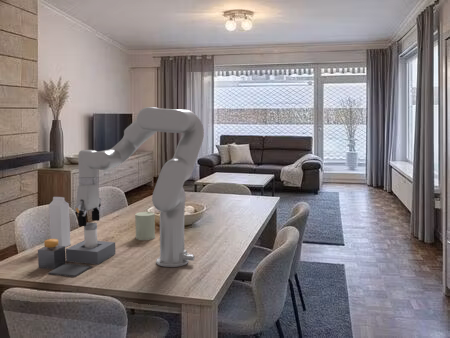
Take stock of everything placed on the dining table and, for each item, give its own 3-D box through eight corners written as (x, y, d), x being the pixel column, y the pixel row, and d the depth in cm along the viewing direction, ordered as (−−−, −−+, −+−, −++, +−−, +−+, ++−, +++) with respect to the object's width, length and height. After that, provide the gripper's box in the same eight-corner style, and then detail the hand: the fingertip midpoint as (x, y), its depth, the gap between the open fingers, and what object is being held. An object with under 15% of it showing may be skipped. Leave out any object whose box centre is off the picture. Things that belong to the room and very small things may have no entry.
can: (159, 237, 217) (158, 212, 216) (145, 241, 210) (144, 215, 208) (145, 234, 223) (145, 209, 221) (131, 238, 215) (130, 213, 214)
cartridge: (100, 256, 187) (99, 222, 186) (93, 260, 183) (92, 225, 181) (89, 255, 189) (88, 222, 187) (82, 258, 184) (81, 224, 182)
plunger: (61, 260, 177) (60, 239, 176) (53, 264, 172) (52, 242, 171) (50, 259, 178) (49, 238, 177) (42, 263, 174) (41, 241, 173)
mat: (91, 267, 174) (91, 265, 174) (75, 277, 163) (75, 275, 163) (66, 264, 177) (66, 263, 177) (48, 274, 166) (48, 272, 166)
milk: (59, 243, 206) (57, 195, 203) (70, 245, 204) (69, 196, 201) (50, 247, 200) (48, 197, 197) (61, 248, 198) (60, 198, 196)
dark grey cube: (65, 263, 178) (65, 246, 177) (54, 269, 171) (53, 251, 170) (50, 262, 180) (49, 244, 179) (38, 267, 173) (37, 249, 172)
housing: (115, 253, 191) (115, 242, 190) (97, 264, 177) (97, 251, 177) (85, 251, 194) (85, 239, 194) (66, 261, 181) (65, 249, 180)
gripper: (92, 177, 191) (92, 217, 193) (67, 183, 175) (68, 227, 177) (108, 178, 189) (108, 219, 191) (85, 184, 173) (85, 228, 175)
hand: (89, 223), depth 184 cm, fingers open, 9 cm apart
